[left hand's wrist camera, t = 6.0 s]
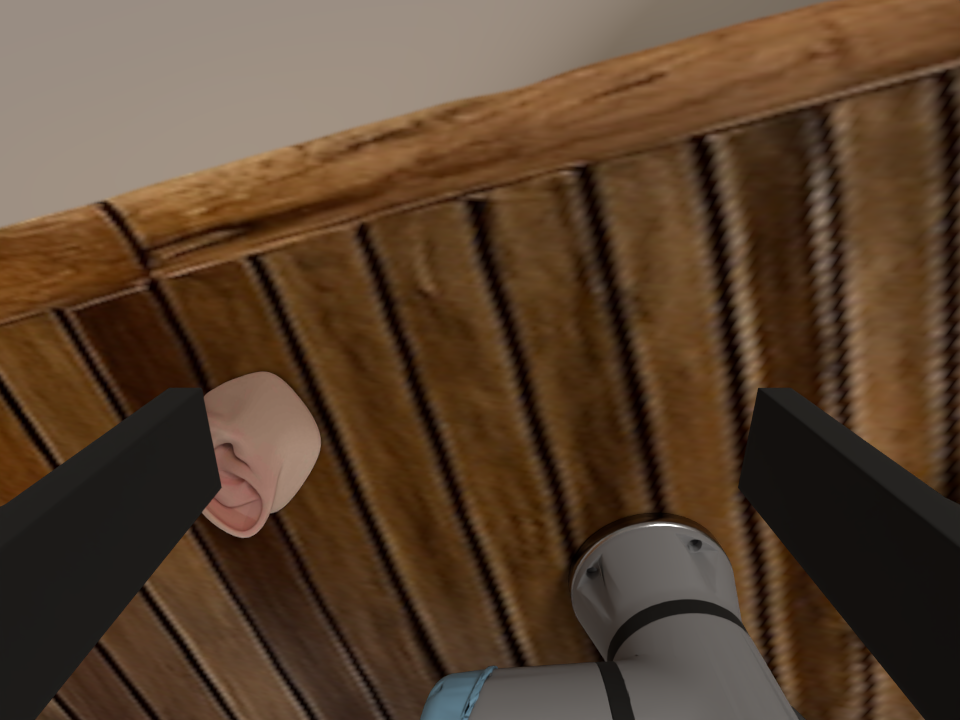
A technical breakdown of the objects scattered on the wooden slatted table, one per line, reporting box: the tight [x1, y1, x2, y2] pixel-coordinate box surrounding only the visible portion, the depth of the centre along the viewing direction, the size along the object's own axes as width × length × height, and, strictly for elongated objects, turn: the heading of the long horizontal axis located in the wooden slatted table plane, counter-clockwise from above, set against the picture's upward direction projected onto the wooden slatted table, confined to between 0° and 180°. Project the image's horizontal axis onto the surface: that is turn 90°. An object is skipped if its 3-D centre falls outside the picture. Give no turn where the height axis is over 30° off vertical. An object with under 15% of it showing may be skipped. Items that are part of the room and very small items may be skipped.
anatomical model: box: [202, 372, 321, 538], centre depth 44 cm, size 13×4×12 cm
